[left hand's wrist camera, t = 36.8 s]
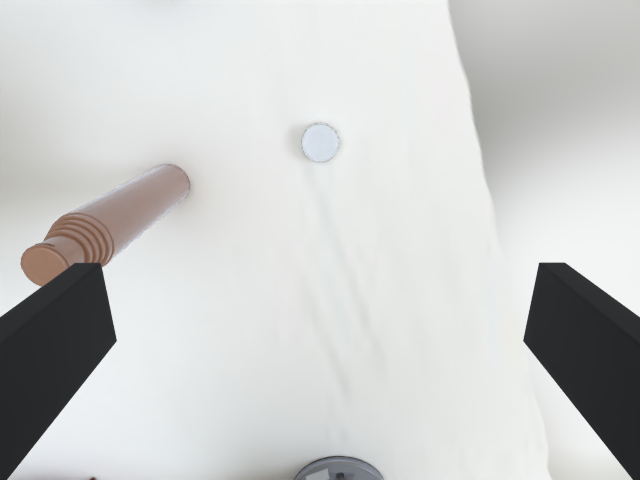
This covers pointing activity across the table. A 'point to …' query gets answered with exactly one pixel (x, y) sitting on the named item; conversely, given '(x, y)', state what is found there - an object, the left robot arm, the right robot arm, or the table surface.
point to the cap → (320, 142)
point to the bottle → (106, 224)
